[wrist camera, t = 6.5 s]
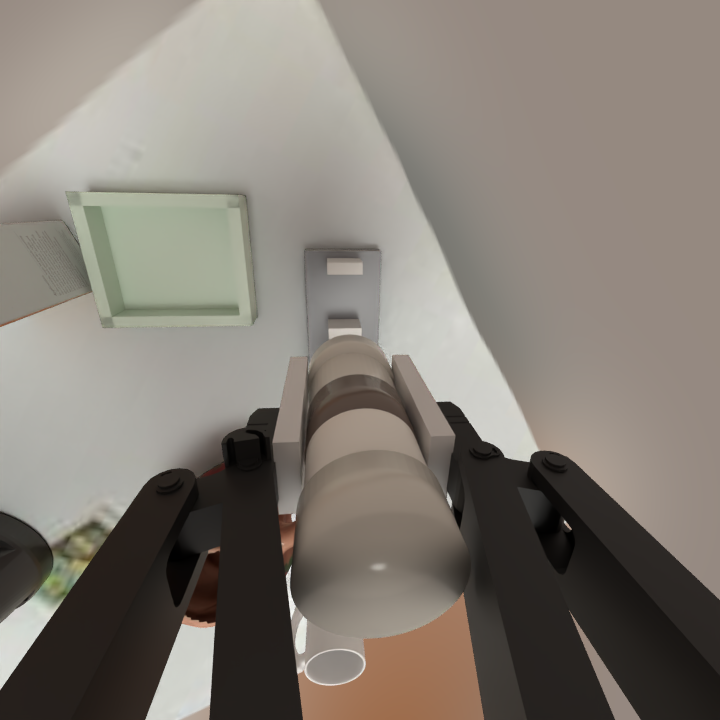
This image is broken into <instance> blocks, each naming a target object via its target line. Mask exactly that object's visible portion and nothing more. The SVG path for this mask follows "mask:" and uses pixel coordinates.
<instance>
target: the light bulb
mask: <svg viewBox="0 0 720 720" xmlns="http://www.w3.org/2000/svg"><path fill="white" fill-rule="evenodd" d="M308 401H309V409H308V414H307V427H306V441H305V455H304V461H305V477H304V488H303V490H302V492H301V494H300V497H299V499H298V504H297V510H296V521H295V533H294V544H293V556H292V567H291V579H290V589H291V595H292V598H293V601H294V603H295V605H296V607H297V608H298V610H299V611H300V613H301V614H302V615H303V616H304V617H305V618H306V619H307V620H309V621H310V622H311V623H313V624H314V625H316V626H317V627H319V628H321V629H323V630H325V631H328V632H331V633H334V634H337V635H341V636H346V637H353V638H381V637H389V636H394V635H399V634H402V633H405V632H409V631H412V630H414V629H416V628H419V627H422V626H424V625H426V624H428V623H429V622H431V621H433V620H435V619H436V618H438V617H439V616H440V615H442V614H443V613H445V612H446V611H447V610H448V609H449V608H450V607H451V606H452V605H453V604H454V603H455V602H456V601H457V600H458V599H459V597H460V596H461V594H462V593H463V591H464V590H465V587H466V585H467V583H468V580H469V577H470V572H471V558H470V554H469V551H468V548H467V546H466V544H465V541H464V539H463V537H462V534H461V532H460V530H459V527H458V525H457V522H456V520H455V518H454V515H453V513H452V511H451V508H450V506H449V504H448V501H447V499H446V497H445V494H444V492H443V490H442V487H441V485H440V483H439V481H438V479H437V477H436V476H435V475H434V473H433V472H432V471H431V470H430V469H429V468H428V467H427V465H426V463H425V460H424V458H423V455H422V453H421V450H420V448H419V443H418V440H417V436H416V434H415V432H414V429H413V427H412V424H411V422H410V419H409V417H408V414H407V412H406V410H405V407H404V405H403V402H402V400H401V398H400V396H399V394H398V393H397V391H396V388H395V378H394V375H393V372H392V370H391V367H390V365H389V363H388V360H387V358H386V356H385V354H384V352H383V351H382V349H381V348H380V347H379V346H378V345H377V344H376V343H375V342H373V341H372V340H370V339H368V338H366V337H363V336H359V335H351V334H348V335H340V336H337V337H334V338H332V339H329V340H328V341H326V342H325V343H323V344H322V345H321V346H320V347H319V348H318V349H317V350H316V351H315V353H314V354H313V356H312V358H311V361H310V365H309V372H308Z"/></svg>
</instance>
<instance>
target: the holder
mask: <svg viewBox="0 0 720 720" xmlns="http://www.w3.org/2000/svg"><path fill="white" fill-rule="evenodd" d="M305 273H306V296H307V319H308V342H309V365H310V361H311V358H312V356H313V354H314V353H315V351H316V350H317V349H318V348H319V347H320V346H321V345H322V344H323V343H325V342H326V341H328V340H329V339H332V338H334V337H337V336H340V335H348V334H351V335H359V336H363V337H366V338H368V339H370V340H372V341H373V342H375V343H376V344H377V345H378V330H379V302H380V275H381V251H380V250H336V249H305Z"/></svg>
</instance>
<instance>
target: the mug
mask: <svg viewBox="0 0 720 720" xmlns="http://www.w3.org/2000/svg"><path fill="white" fill-rule="evenodd" d="M302 617H303V615H302V614H301V613H300V611H299V610H298V608H297V607H296V608H295V611H294V614H293V617H292V620H291V625H292V633H293V642H294V650H295V658H296V667H297V674H298V673H300V672H302V671H303V669H304V672H305V675H306V676H307V678H308V679H309V680H311V681H312V682H314V683H317V684H321V685H339V684H344V683H347V682H350V681H352V680H354V679H356V678H357V677H358V676H359V675H360V674H362V672H363V671H364V669H365V666H366V662H365V653H364V644H363V638H353V637H346V636H341V635H337V634H334V633H331V632H328V631H325V630H323V629H321V628H319V627H317V626H316V625H314V624H313V623H311V622H310V621H309V620H307V633H306V649H305V652H304V653H303V654H298V653H297V650H296V647H295V637H296V632H297V628H298V625H299V623H300V621H301V619H302Z"/></svg>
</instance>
